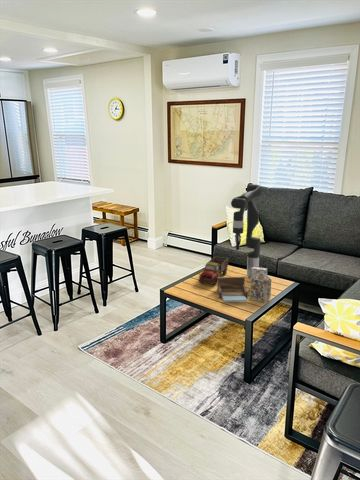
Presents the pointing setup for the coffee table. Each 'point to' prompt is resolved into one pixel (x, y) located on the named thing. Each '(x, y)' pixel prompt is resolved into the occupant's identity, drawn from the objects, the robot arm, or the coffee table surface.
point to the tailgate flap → (234, 298)
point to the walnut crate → (231, 286)
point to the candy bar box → (258, 271)
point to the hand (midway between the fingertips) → (237, 249)
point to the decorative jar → (260, 288)
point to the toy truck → (214, 270)
